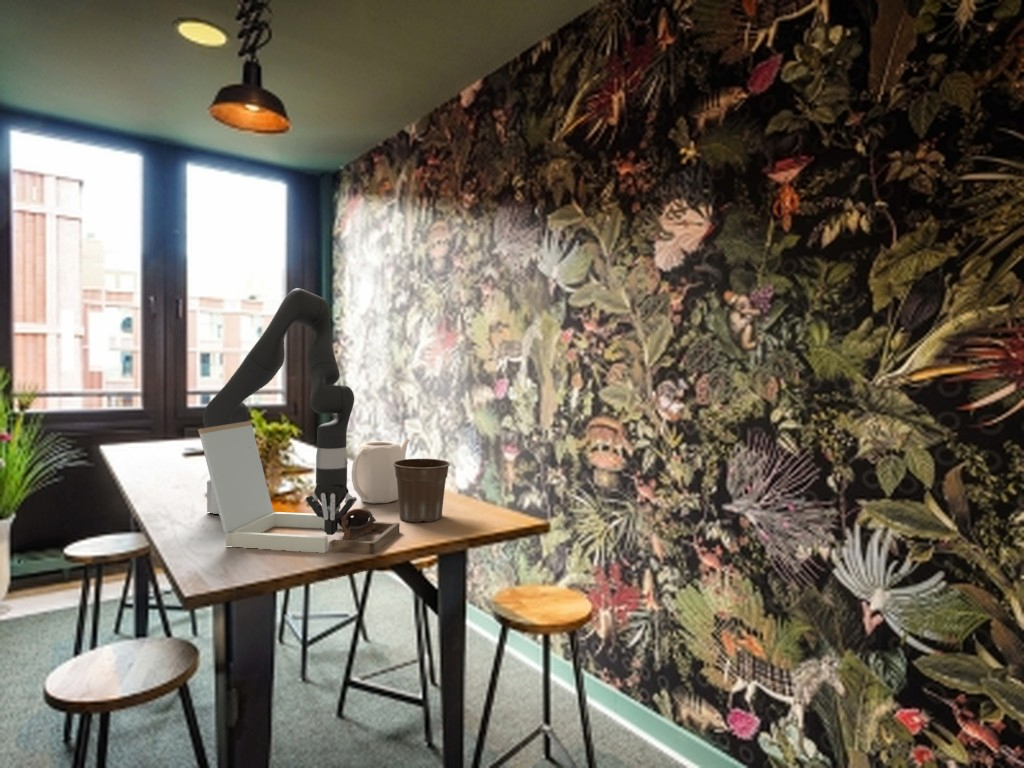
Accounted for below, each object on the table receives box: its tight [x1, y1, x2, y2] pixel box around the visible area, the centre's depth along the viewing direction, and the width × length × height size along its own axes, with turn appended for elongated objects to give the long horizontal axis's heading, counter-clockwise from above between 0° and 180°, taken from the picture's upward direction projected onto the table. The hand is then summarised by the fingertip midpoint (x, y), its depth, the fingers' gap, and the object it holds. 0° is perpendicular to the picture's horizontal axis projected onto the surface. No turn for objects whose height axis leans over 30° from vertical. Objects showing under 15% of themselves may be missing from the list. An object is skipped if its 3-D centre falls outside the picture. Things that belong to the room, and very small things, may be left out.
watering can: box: [351, 438, 410, 505], centre depth 196 cm, size 16×27×19 cm, turn 150°
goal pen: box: [330, 521, 400, 555], centre depth 150 cm, size 11×18×2 cm, turn 172°
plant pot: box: [393, 458, 451, 523], centre depth 174 cm, size 16×16×16 cm
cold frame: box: [197, 420, 354, 554], centre depth 152 cm, size 32×21×28 cm, turn 82°
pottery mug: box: [338, 508, 377, 540], centre depth 153 cm, size 12×10×8 cm
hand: (331, 534), depth 150 cm, fingers closed
